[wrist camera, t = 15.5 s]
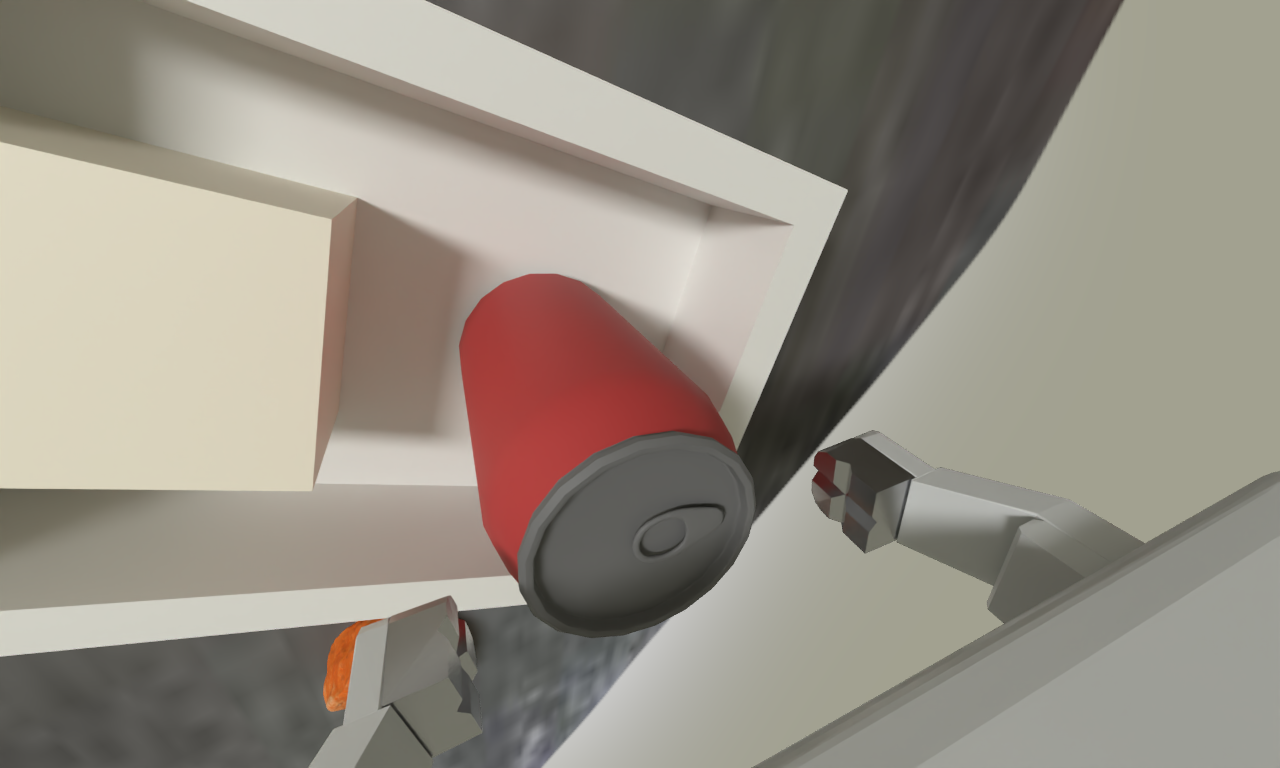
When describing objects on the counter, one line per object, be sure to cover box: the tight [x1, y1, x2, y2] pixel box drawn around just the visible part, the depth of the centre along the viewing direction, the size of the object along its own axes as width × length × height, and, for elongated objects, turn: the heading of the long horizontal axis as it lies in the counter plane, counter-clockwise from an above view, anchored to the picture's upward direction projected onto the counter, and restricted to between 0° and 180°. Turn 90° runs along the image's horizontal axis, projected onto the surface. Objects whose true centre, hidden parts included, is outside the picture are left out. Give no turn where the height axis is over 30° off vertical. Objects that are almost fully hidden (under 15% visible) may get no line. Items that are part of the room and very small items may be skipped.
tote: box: [0, 0, 848, 656], centre depth 16 cm, size 18×25×6 cm
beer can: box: [459, 274, 756, 638], centre depth 15 cm, size 7×7×12 cm
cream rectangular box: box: [0, 106, 357, 491], centre depth 13 cm, size 8×8×5 cm
